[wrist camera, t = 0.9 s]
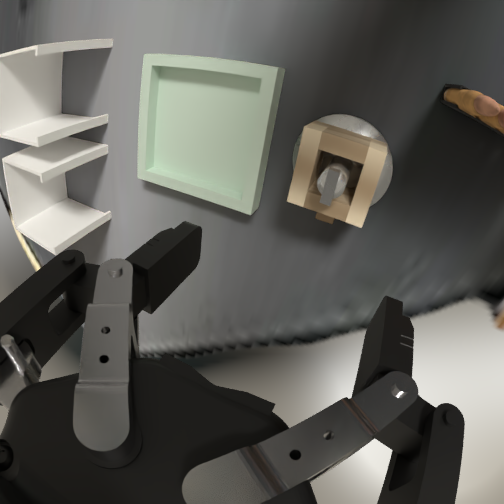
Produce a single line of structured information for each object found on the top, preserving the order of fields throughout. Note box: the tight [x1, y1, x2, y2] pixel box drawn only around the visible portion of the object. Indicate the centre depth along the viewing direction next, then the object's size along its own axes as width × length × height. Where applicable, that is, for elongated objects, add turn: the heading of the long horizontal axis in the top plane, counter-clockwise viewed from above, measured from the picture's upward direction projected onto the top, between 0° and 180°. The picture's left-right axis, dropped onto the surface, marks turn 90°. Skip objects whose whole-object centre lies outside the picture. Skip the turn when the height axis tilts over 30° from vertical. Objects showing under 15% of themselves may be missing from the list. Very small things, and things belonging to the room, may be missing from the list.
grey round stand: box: [292, 114, 393, 207], centre depth 24 cm, size 9×9×7 cm
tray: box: [138, 54, 285, 215], centre depth 30 cm, size 14×14×2 cm
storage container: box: [0, 39, 113, 255], centre depth 33 cm, size 25×11×11 cm, turn 169°
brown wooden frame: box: [287, 120, 387, 228], centre depth 25 cm, size 8×6×4 cm
